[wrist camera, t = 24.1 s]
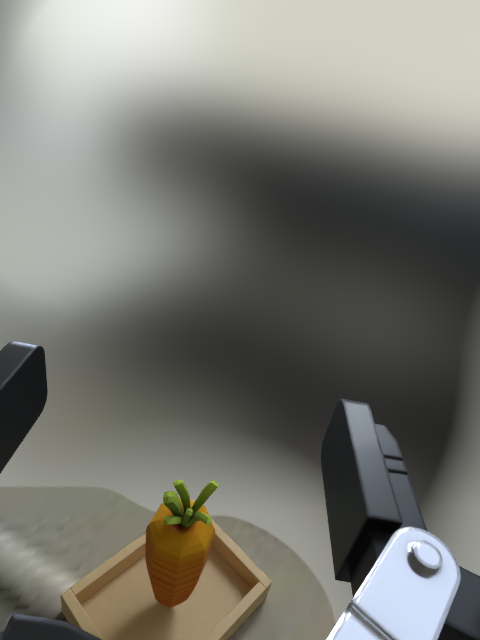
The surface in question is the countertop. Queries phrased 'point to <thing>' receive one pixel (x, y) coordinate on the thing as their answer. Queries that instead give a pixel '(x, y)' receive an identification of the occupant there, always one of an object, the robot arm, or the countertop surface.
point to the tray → (156, 619)
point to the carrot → (178, 544)
